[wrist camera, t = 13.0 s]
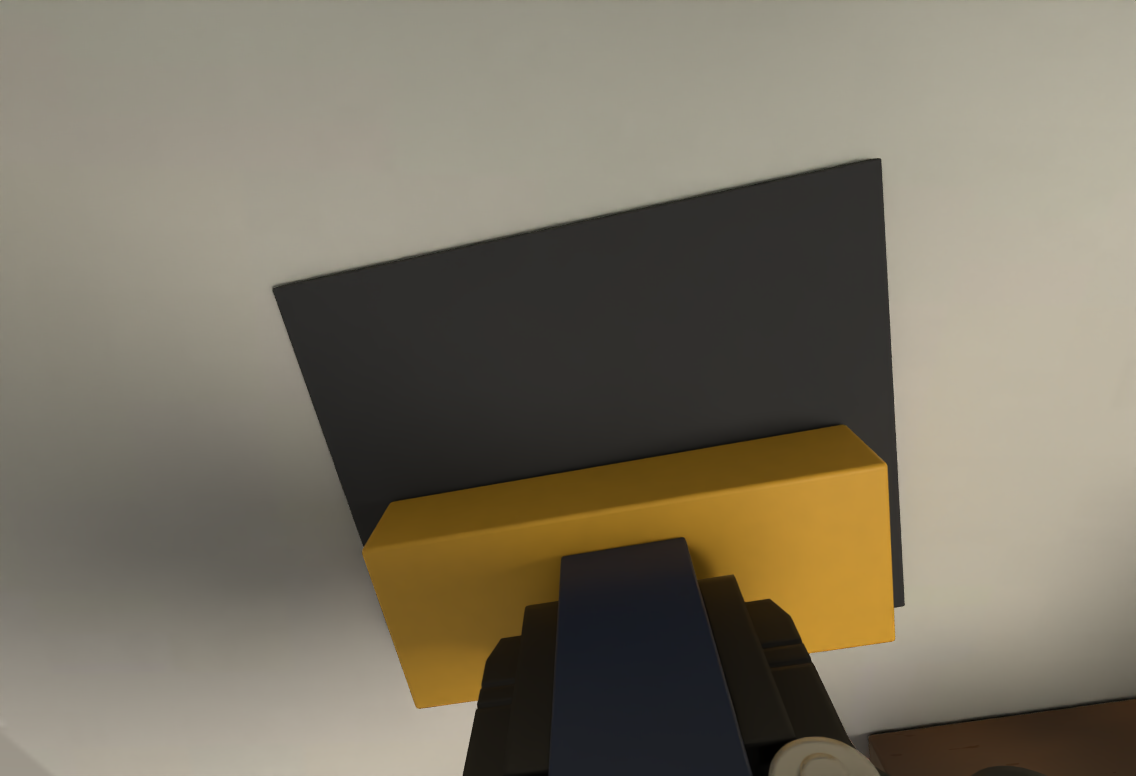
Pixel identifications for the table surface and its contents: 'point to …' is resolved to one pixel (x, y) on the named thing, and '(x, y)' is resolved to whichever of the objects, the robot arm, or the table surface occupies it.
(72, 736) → the table surface
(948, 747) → the stand
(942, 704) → the table surface
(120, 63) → the table surface
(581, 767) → the wiper
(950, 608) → the table surface
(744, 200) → the mat
